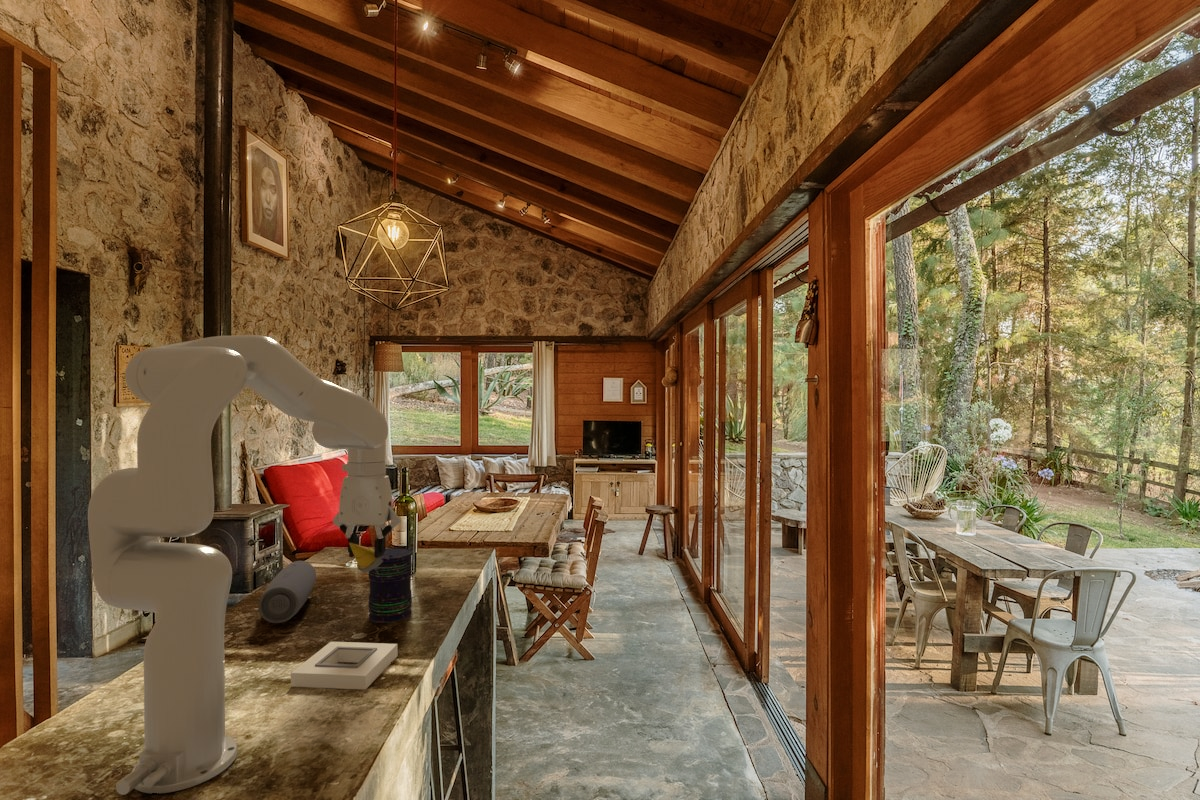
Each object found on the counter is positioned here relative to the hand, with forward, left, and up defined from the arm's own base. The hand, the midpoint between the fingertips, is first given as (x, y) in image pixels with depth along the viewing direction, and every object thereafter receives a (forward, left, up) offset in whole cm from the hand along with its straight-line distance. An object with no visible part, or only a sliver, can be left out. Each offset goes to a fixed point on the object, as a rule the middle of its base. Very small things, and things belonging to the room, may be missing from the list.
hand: (366, 555), depth 131 cm
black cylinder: (+16, +2, -19) cm, 25 cm away
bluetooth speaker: (+17, +27, -19) cm, 37 cm away
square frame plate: (-13, -2, -19) cm, 23 cm away
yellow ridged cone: (0, 0, -4) cm, 4 cm away
